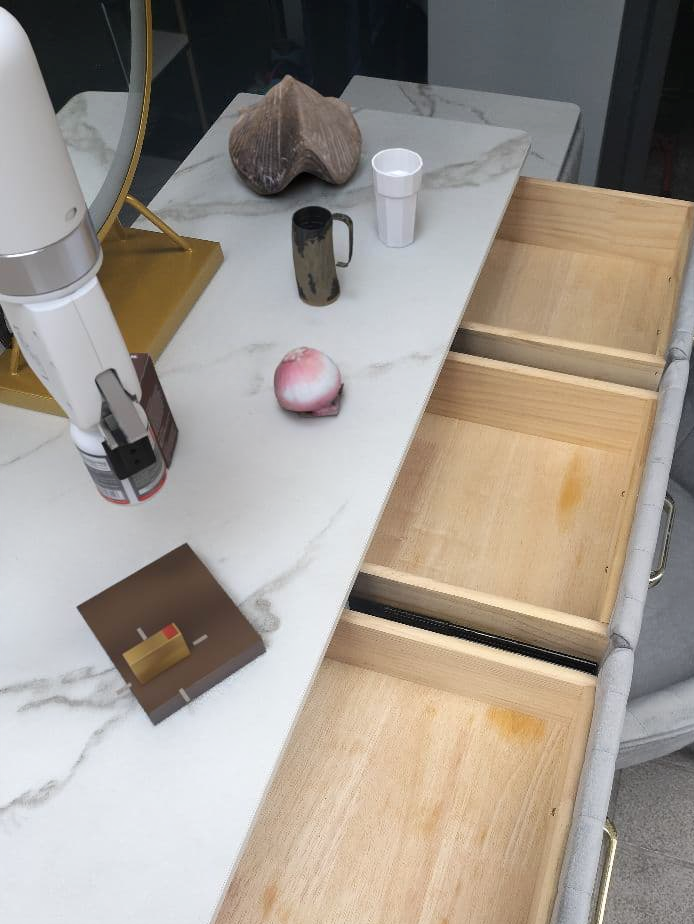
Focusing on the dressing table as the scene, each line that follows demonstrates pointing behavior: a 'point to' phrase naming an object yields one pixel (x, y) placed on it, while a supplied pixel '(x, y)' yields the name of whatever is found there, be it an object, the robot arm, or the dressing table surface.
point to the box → (155, 405)
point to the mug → (317, 254)
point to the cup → (396, 194)
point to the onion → (308, 383)
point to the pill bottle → (101, 471)
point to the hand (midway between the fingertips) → (116, 442)
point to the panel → (192, 611)
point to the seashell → (294, 138)
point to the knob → (157, 653)
